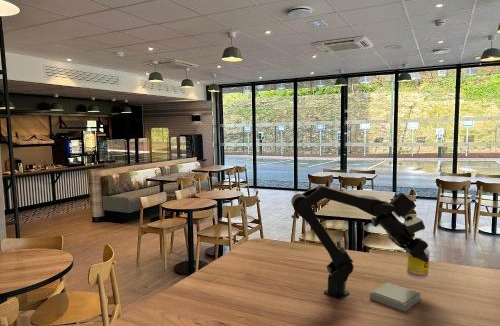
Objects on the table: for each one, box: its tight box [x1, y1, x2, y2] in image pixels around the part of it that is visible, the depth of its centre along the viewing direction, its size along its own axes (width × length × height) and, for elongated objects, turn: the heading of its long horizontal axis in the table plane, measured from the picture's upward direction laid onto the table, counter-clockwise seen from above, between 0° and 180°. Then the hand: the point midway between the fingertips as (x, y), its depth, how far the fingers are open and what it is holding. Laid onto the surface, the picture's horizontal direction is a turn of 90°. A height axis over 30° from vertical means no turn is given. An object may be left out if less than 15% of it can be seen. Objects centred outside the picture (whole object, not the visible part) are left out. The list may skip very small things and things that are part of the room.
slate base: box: [369, 281, 422, 312], centre depth 122 cm, size 12×12×2 cm
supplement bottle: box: [406, 237, 430, 280], centre depth 125 cm, size 7×7×13 cm
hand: (422, 257), depth 125 cm, fingers closed on supplement bottle, 7 cm apart
